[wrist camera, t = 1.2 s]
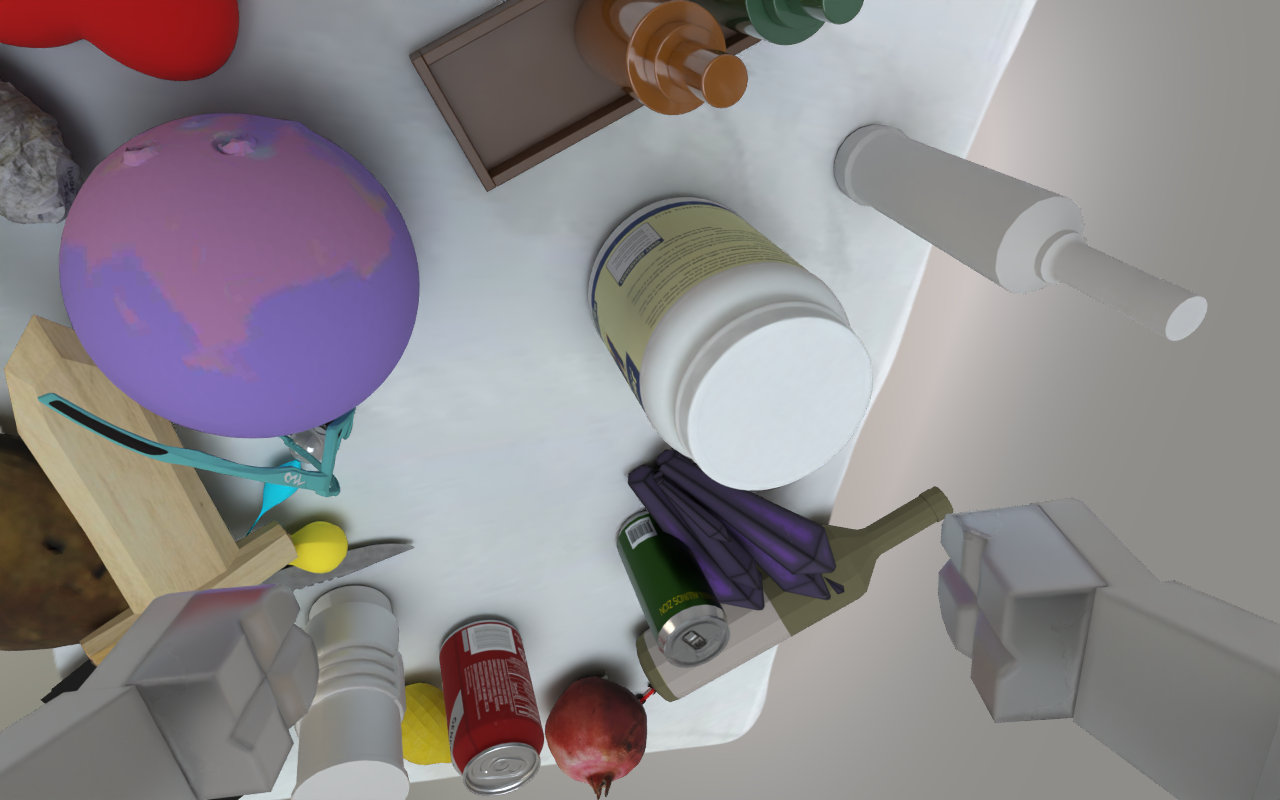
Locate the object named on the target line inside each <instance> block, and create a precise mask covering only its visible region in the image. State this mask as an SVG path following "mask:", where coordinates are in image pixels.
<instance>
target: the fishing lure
mask: <svg viewBox="0 0 1280 800" xmlns="http://www.w3.org/2000/svg"><path fill="white" fill-rule="evenodd" d="M290 435H291V437H290V438H292V439H293V440H294V442H295V444H298V446H301V447H302V448H303V449H305V450H306V451H308V453H310V455H313V456H314V457H315V458H316V459H317V460H318V461H321V460H322V458H323V452H324V444H325V435H326V429H325V428H324V427H322V426H318V427H315V428H312V429H309V430H306V431H303V432H298V433H294V434H290ZM289 450H290V453H291V454H292V456H293V457H294V458H295V459H296V460H294V461H291V462H288V463H285V464H283V465H281V466H279V467H283V466H294V467H296V468H299V469H301V462H303V463H307V464H311V463H310V462H309V461H308V460H306V459H305V458H304V457H302V456H301V455H299V454H298V453H296V452H295V451H294V450H292V449H291V448H289ZM297 489H298V488H296V487H290V486H283V485H277V484H271V483H266V482H265V485H264V490H263V505H262V510H261V513H260V515H259V516H258V518H257V520H256V521H255V523H254V524H253V526H252V527H251V529H250V530H249V532H248V533H247V535H248V534H249V533H250V531H251V530H252V528H253V527H254V526H255V524H256V523H257V521H258V520H259V519H260V517H261V516H262V515H263V514H264V513H265V512H266V511H268V510H269V509H270V508H272V507H274V506H275V505H277V504H279V503H281V502H282V501H284V500H286V499H287V498H288V497H290V496H291V495H292V494H293V493H294V492H295V491H296V490H297ZM247 535H246V536H247ZM246 536H245V537H246Z"/></svg>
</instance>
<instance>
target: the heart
mask: <svg viewBox="0 0 1280 800" xmlns="http://www.w3.org/2000/svg"><path fill="white" fill-rule="evenodd" d="M238 28H239V10H238V2H237V0H0V43H3V44H8V45H13V46H18V47H28V48H50V47H58V46H63V45H67V44H70V43H73V42H76V41H78V40H81V39H85V40H87V41H89V42H91V43H92V44H93V45H95V46H96V47H97V48H99V49H100V50H101V51H103V52H104V53H106V54H107V55H108V56H110V57H111V58H113V59H115V60H116V61H118V62H120V63H121V64H123V65H125V66H127V67H129V68H132V69H134V70H136V71H138V72H141V73H144V74H146V75H149V76H153V77H156V78H160V79H166V80H173V81H190V80H196V79H200V78H204V77H206V76H209V75H210V74H212V73H214V72H216V71H217V70H218V69H220V68H221V67H222V66H223V65H224V64H225V62H226V61H227V60H228V58H229V57H230V55H231V53H232V51H233V49H234V47H235V44H236V40H237V36H238Z"/></svg>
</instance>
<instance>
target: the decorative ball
mask: <svg viewBox="0 0 1280 800" xmlns="http://www.w3.org/2000/svg"><path fill="white" fill-rule="evenodd" d="M59 273H60V284H61V290H62V295H63V299H64V303H65V307H66V310H67V313H68V316H69V319H70V321H71V324H72V326H73V328H74V330H75V332H76V334H77V336H78V338H79V340H80V342H81V344H82V345H83V347H84V348H85V350H86V352H87V353H88V355H89V356H90V357H91V359H92V360H93V361H94V363H95V364H96V365H97V367H98V368H99V369H100V370H101V371H102V372H103V373H104V375H105V376H106V377H107V378H108V379H109V380H110V381H111V382H112V383H113V384H114V385H115V386H116V387H118V388H119V389H120V390H121V391H122V392H124V393H125V394H126V395H127V396H129V397H130V398H131V399H133V400H134V401H135V402H137V403H138V404H140V405H141V406H143V407H144V408H146V409H148V410H150V411H151V412H153V413H155V414H157V415H159V416H161V417H163V418H165V419H167V420H169V421H171V422H174V423H176V424H179V425H181V426H184V427H187V428H190V429H193V430H197V431H200V432H204V433H209V434H214V435H219V436H226V437H236V438H269V437H277V436H285V435H290V434H294V433H298V432H303V431H306V430H309V429H312V428H315V427H318V426H321V425H323V424H325V423H327V422H330V421H332V420H334V419H336V418H338V417H340V416H342V415H343V414H345V413H347V412H348V411H350V410H351V409H353V408H354V407H356V406H357V405H359V404H360V403H361V402H363V401H364V400H365V399H366V398H368V397H369V396H370V395H371V394H372V393H373V392H374V391H375V390H376V389H377V388H378V387H379V386H380V385H381V384H382V383H383V382H384V381H385V380H386V378H387V377H388V376H389V374H390V373H391V372H392V370H393V369H394V368H395V366H396V364H397V363H398V361H399V360H400V358H401V356H402V354H403V352H404V350H405V348H406V346H407V344H408V342H409V339H410V337H411V334H412V331H413V328H414V324H415V320H416V315H417V309H418V302H419V271H418V263H417V258H416V253H415V250H414V246H413V243H412V239H411V236H410V233H409V231H408V229H407V226H406V224H405V221H404V219H403V217H402V215H401V213H400V211H399V210H398V208H397V207H396V205H395V203H394V202H393V200H392V199H391V197H390V196H389V194H388V193H387V192H386V190H385V189H384V188H383V186H382V185H381V184H380V183H379V182H378V181H377V179H376V178H375V177H374V176H373V175H372V174H371V173H370V172H369V171H368V170H367V169H366V168H365V167H364V166H363V165H362V164H361V163H360V162H358V161H357V160H356V159H355V158H354V157H352V156H351V155H350V154H348V153H347V152H346V151H344V150H343V149H341V148H340V147H338V146H337V145H335V144H334V143H332V142H331V141H329V140H327V139H325V138H323V137H321V136H320V135H318V134H316V133H314V132H312V131H311V130H309V129H308V128H306V127H305V126H304V125H303V124H302V123H300V122H298V121H290V120H281V119H274V118H269V117H264V116H258V115H250V114H240V113H213V114H203V115H196V116H189V117H185V118H181V119H177V120H173V121H170V122H167V123H164V124H161V125H158V126H156V127H154V128H151V129H149V130H147V131H145V132H143V133H141V134H139V135H137V136H135V137H134V138H132V139H131V140H129V141H127V142H126V143H124V144H123V145H121V146H120V147H119V148H117V149H116V150H115V151H114V152H112V153H111V154H110V155H109V156H108V157H107V158H105V159H104V160H103V161H101V162H100V163H99V164H98V165H97V166H96V167H95V168H94V170H93V171H92V173H91V174H90V176H89V177H88V178H87V180H86V181H85V183H84V184H83V186H82V187H81V189H80V191H79V193H78V194H77V196H76V198H75V200H74V202H73V204H72V206H71V208H70V210H69V213H68V216H67V219H66V222H65V226H64V230H63V234H62V238H61V246H60V255H59Z"/></svg>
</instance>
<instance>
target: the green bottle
mask: <svg viewBox="0 0 1280 800" xmlns="http://www.w3.org/2000/svg"><path fill="white" fill-rule="evenodd" d="M687 1H691V2H694V3H697V4H699V5H701V6H702V7H704V8H705V9H707V10H708V11H709V12H710V13H711V14H712V15H713V16H714V18H715V19H716V20H717V22H718V24H719V25H720V26H721V27H724V28H727V29H730V30H734V31H737V32H740V33H743V34H746V35H749V36H752V37H756V38H759V39H762V40H765V41H768V42H771V43H774V44H778V45H792V44H796V43H800V42H802V41H804V40H806V39H808V38H809V37H811V36H812V35H813V34H815V33H816V32H817V31H818V30H819V29H820V28H821V27H822V26H823V24H824V23H825V22H829V23H833V24H844V23H847V22H849V21H850V20H852V19H853V18H854V17H855V16H856V15H857V14H858V13H859V11H860V9H861V7H862V5H863V2H864V0H687Z"/></svg>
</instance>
